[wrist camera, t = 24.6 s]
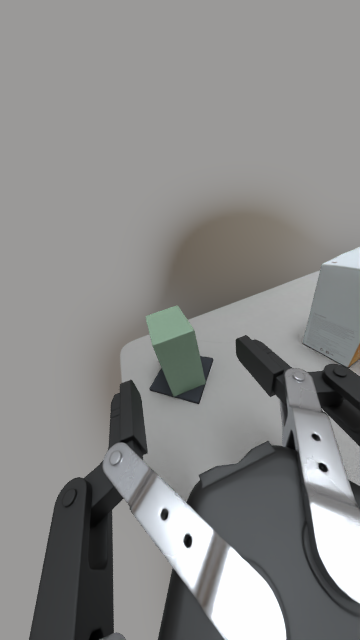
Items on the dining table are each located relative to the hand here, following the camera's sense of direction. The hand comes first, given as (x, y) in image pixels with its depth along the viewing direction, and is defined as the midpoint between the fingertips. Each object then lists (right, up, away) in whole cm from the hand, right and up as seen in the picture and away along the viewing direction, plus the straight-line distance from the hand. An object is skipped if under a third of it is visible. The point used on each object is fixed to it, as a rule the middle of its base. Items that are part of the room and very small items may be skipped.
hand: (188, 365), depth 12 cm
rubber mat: (0, -5, +15) cm, 16 cm away
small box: (+24, 0, +14) cm, 28 cm away
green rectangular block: (0, -5, +15) cm, 16 cm away
